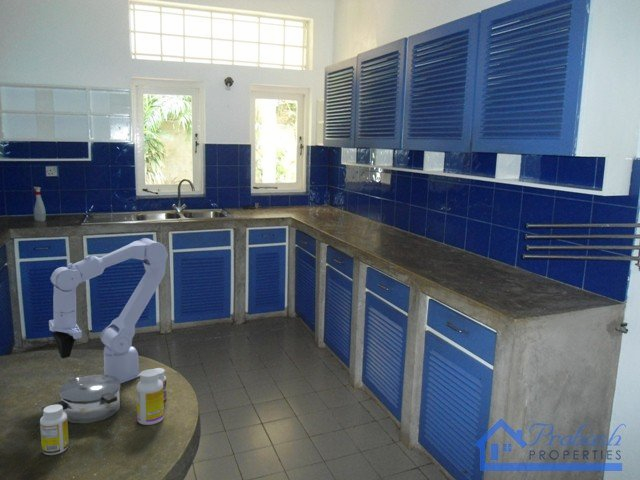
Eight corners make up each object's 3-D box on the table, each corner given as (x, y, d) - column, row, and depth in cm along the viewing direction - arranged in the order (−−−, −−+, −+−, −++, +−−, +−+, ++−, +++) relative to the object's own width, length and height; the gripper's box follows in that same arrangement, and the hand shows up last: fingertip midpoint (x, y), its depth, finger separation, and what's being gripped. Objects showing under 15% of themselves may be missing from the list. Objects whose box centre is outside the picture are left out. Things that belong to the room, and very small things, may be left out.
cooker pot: (101, 392, 146) (101, 374, 145) (130, 408, 138) (129, 389, 137) (32, 418, 131) (31, 398, 130) (59, 437, 123) (58, 416, 122)
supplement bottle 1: (62, 440, 122) (60, 400, 120) (73, 449, 118) (71, 408, 116) (37, 449, 117) (35, 408, 116) (48, 459, 114) (45, 416, 112)
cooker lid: (100, 373, 146) (100, 369, 145) (138, 392, 135) (138, 388, 135) (48, 390, 134) (48, 386, 134) (84, 413, 123) (84, 408, 123)
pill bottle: (161, 404, 141) (160, 375, 139) (145, 401, 142) (145, 373, 140) (169, 396, 145) (169, 368, 144) (154, 394, 146) (153, 366, 145)
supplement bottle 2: (169, 416, 134) (168, 370, 132) (153, 428, 128) (152, 380, 126) (147, 411, 136) (147, 365, 134) (131, 422, 130) (130, 375, 128)
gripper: (37, 307, 143) (38, 353, 145) (63, 318, 135) (64, 367, 137) (62, 303, 149) (63, 347, 151) (89, 313, 141) (89, 360, 142)
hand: (65, 356), depth 144 cm, fingers closed
